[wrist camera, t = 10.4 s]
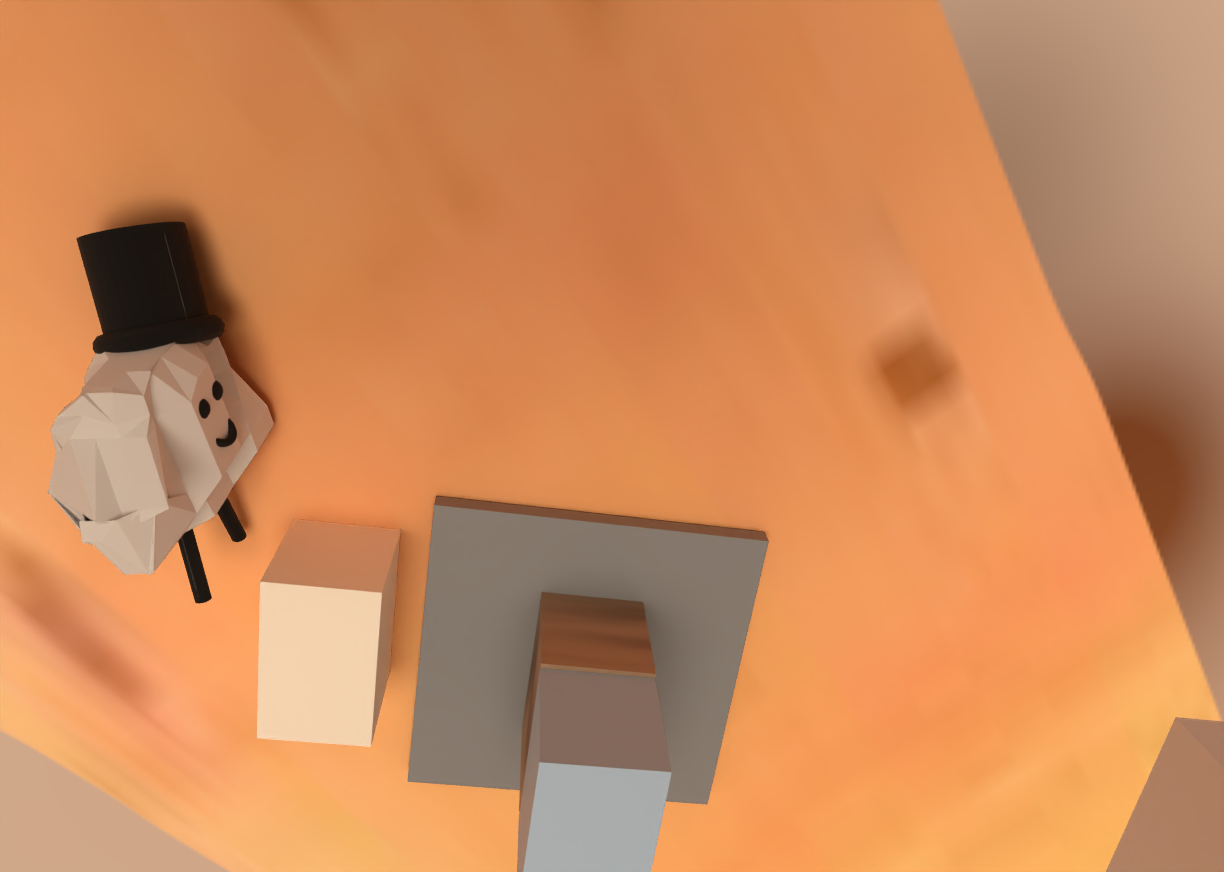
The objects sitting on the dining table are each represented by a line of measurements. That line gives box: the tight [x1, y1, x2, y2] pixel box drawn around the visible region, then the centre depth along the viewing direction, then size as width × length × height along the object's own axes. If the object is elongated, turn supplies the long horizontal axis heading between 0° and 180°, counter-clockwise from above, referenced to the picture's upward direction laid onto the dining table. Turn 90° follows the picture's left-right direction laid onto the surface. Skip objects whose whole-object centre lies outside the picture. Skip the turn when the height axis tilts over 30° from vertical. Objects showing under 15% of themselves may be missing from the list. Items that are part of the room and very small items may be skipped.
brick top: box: [517, 668, 672, 872], centre depth 41 cm, size 8×5×6 cm, turn 172°
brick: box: [257, 519, 401, 747], centre depth 45 cm, size 8×5×6 cm, turn 172°
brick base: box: [519, 592, 656, 812], centre depth 46 cm, size 8×5×6 cm, turn 171°
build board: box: [408, 496, 769, 804], centre depth 49 cm, size 16×16×1 cm
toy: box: [48, 222, 274, 603], centre depth 40 cm, size 6×12×15 cm
